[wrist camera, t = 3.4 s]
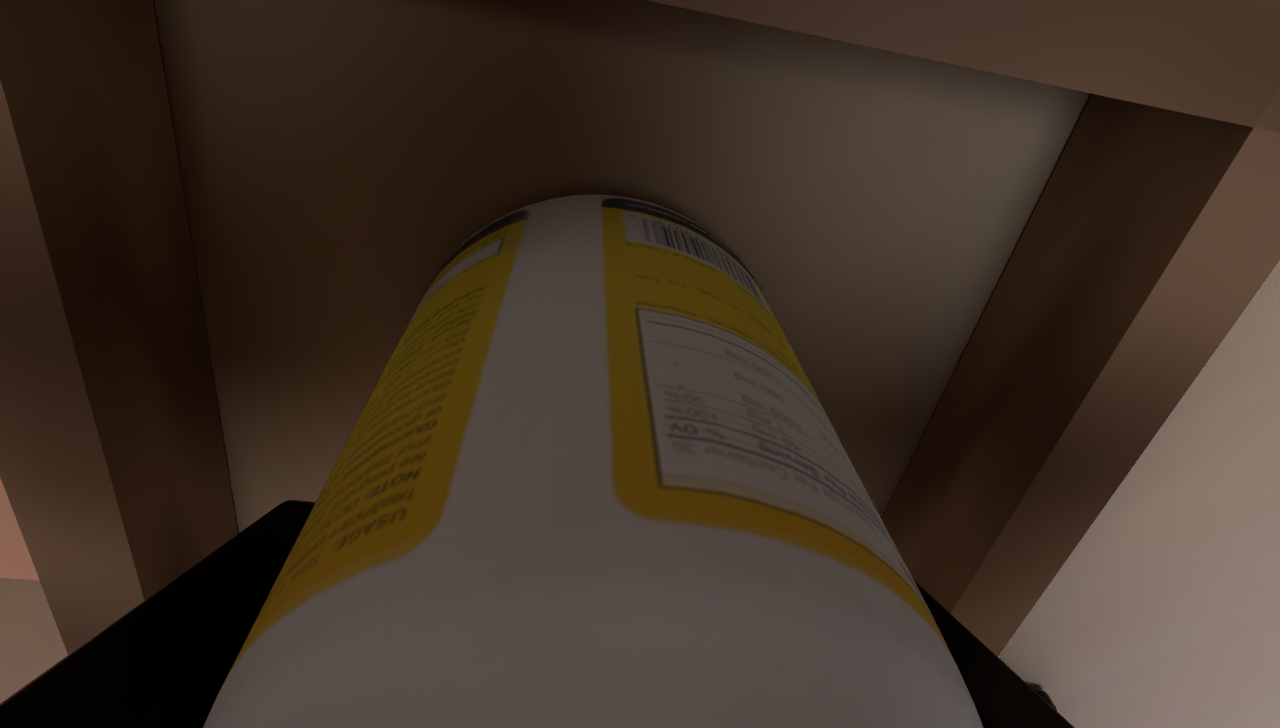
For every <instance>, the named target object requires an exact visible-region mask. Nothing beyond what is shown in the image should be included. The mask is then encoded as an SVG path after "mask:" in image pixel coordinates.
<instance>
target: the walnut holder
mask: <svg viewBox="0 0 1280 728" xmlns="http://www.w3.org/2000/svg"><path fill="white" fill-rule="evenodd" d="M647 1H652V2H657V3H662V4H666V5H671V6H676V7H681V8H685V9H690V10H695V11H700V12H705V13H709V14H714V15H719V16H724V17H728V18H733V19H738V20H743V21H748V22H752V23H757V24H762V25H767V26H771V27H776V28H781V29H786V30H790V31H795V32H800V33H805V34H810V35H814V36H819V37H824V38H829V39H833V40H838V41H843V42H848V43H853V44H857V45H862V46H867V47H872V48H876V49H881V50H886V51H891V52H895V53H900V54H905V55H910V56H915V57H919V58H924V59H929V60H934V61H938V62H943V63H948V64H953V65H958V66H962V67H967V68H972V69H977V70H981V71H986V72H991V73H996V74H1000V75H1005V76H1010V77H1015V78H1020V79H1024V80H1029V81H1034V82H1039V83H1043V84H1048V85H1053V86H1058V87H1063V88H1067V89H1072V90H1077V91H1082V92H1086V93H1091V94H1092V95H1091V97H1090V99H1089V101H1088V103H1087V105H1086V107H1085V109H1084V111H1083V113H1082V115H1081V117H1080V119H1079V121H1078V123H1077V125H1076V127H1075V129H1074V131H1073V133H1072V135H1071V137H1070V139H1069V141H1068V143H1067V145H1066V147H1065V149H1064V151H1063V153H1062V155H1061V157H1060V159H1059V161H1058V163H1057V165H1056V167H1055V169H1054V172H1053V174H1052V176H1051V178H1050V180H1049V182H1048V184H1047V186H1046V188H1045V190H1044V192H1043V194H1042V196H1041V198H1040V200H1039V202H1038V204H1037V206H1036V208H1035V210H1034V212H1033V214H1032V216H1031V218H1030V220H1029V222H1028V224H1027V226H1026V228H1025V230H1024V232H1023V234H1022V236H1021V238H1020V240H1019V242H1018V244H1017V246H1016V248H1015V250H1014V252H1013V254H1012V256H1011V259H1010V261H1009V263H1008V265H1007V267H1006V269H1005V271H1004V273H1003V275H1002V277H1001V279H1000V281H999V283H998V285H997V287H996V289H995V291H994V293H993V295H992V297H991V299H990V301H989V303H988V305H987V307H986V309H985V311H984V313H983V315H982V317H981V319H980V321H979V323H978V325H977V327H976V329H975V331H974V333H973V335H972V337H971V339H970V341H969V343H968V346H967V348H966V350H965V352H964V354H963V356H962V358H961V360H960V362H959V364H958V366H957V368H956V370H955V372H954V374H953V376H952V378H951V380H950V382H949V384H948V386H947V388H946V390H945V392H944V394H943V396H942V398H941V400H940V402H939V404H938V406H937V408H936V410H935V412H934V414H933V416H932V418H931V420H930V422H929V424H928V426H927V428H926V430H925V433H924V435H923V437H922V439H921V441H920V443H919V445H918V447H917V449H916V451H915V453H914V455H913V457H912V459H911V461H910V463H909V465H908V467H907V469H906V471H905V473H904V475H903V477H902V479H901V481H900V483H899V485H898V487H897V489H896V491H895V493H894V495H893V497H892V499H891V501H890V503H889V505H888V507H887V509H886V511H885V513H884V515H883V517H882V521H883V523H884V525H885V527H886V529H887V531H888V533H889V535H890V537H891V539H892V541H893V542H894V544H895V546H896V548H897V550H898V552H899V553H900V555H901V557H902V559H903V561H904V563H905V565H906V566H907V568H908V570H909V572H910V574H911V576H912V578H913V579H914V580H915V581H916V582H917V583H918V584H919V585H920V586H921V587H922V588H923V589H924V590H925V591H927V592H928V593H929V594H930V595H931V596H932V597H933V598H934V599H935V600H936V601H937V602H938V603H940V604H941V605H942V606H943V607H944V608H945V609H946V610H947V611H948V612H949V613H950V614H952V615H953V616H954V617H955V618H956V619H957V620H958V621H959V622H960V623H961V624H962V625H963V626H965V627H966V628H967V629H968V630H969V631H970V632H971V633H972V634H973V635H974V636H975V637H977V638H978V639H979V640H980V641H981V642H982V643H983V644H984V645H985V646H986V647H987V648H988V649H990V650H991V651H992V652H993V653H994V654H995V655H996V656H997V657H998V655H999V654H1000V653H1001V651H1002V650H1003V648H1004V647H1005V645H1006V644H1007V643H1008V641H1009V640H1010V638H1011V637H1012V636H1013V634H1014V633H1015V631H1016V630H1017V629H1018V627H1019V626H1020V624H1021V623H1022V622H1023V620H1024V619H1025V617H1026V616H1027V615H1028V613H1029V612H1030V610H1031V609H1032V607H1033V606H1034V605H1035V603H1036V602H1037V600H1038V599H1039V598H1040V596H1041V595H1042V593H1043V592H1044V591H1045V589H1046V588H1047V586H1048V585H1049V584H1050V582H1051V581H1052V579H1053V578H1054V577H1055V575H1056V574H1057V572H1058V571H1059V570H1060V568H1061V567H1062V565H1063V564H1064V562H1065V561H1066V560H1067V558H1068V557H1069V555H1070V554H1071V553H1072V551H1073V550H1074V548H1075V547H1076V546H1077V544H1078V543H1079V541H1080V540H1081V539H1082V537H1083V536H1084V534H1085V533H1086V532H1087V530H1088V529H1089V527H1090V526H1091V524H1092V523H1093V522H1094V520H1095V519H1096V517H1097V516H1098V515H1099V513H1100V512H1101V510H1102V509H1103V508H1104V506H1105V505H1106V503H1107V502H1108V501H1109V499H1110V498H1111V496H1112V495H1113V494H1114V492H1115V491H1116V489H1117V488H1118V487H1119V485H1120V484H1121V482H1122V481H1123V479H1124V478H1125V477H1126V475H1127V474H1128V472H1129V471H1130V470H1131V468H1132V467H1133V465H1134V464H1135V463H1136V461H1137V460H1138V458H1139V457H1140V456H1141V454H1142V453H1143V451H1144V450H1145V449H1146V447H1147V446H1148V444H1149V443H1150V441H1151V440H1152V439H1153V437H1154V436H1155V434H1156V433H1157V432H1158V430H1159V429H1160V427H1161V426H1162V425H1163V423H1164V422H1165V420H1166V419H1167V418H1168V416H1169V415H1170V413H1171V412H1172V411H1173V409H1174V408H1175V406H1176V405H1177V404H1178V402H1179V401H1180V399H1181V398H1182V396H1183V395H1184V394H1185V392H1186V391H1187V389H1188V388H1189V387H1190V385H1191V384H1192V382H1193V381H1194V380H1195V378H1196V377H1197V375H1198V374H1199V373H1200V371H1201V370H1202V368H1203V367H1204V366H1205V364H1206V363H1207V361H1208V360H1209V359H1210V357H1211V356H1212V354H1213V353H1214V351H1215V350H1216V349H1217V347H1218V346H1219V344H1220V343H1221V342H1222V340H1223V339H1224V337H1225V336H1226V335H1227V333H1228V332H1229V330H1230V329H1231V328H1232V326H1233V325H1234V323H1235V322H1236V321H1237V319H1238V318H1239V316H1240V315H1241V313H1242V312H1243V311H1244V309H1245V308H1246V306H1247V305H1248V304H1249V302H1250V301H1251V299H1252V298H1253V297H1254V295H1255V294H1256V292H1257V291H1258V290H1259V288H1260V287H1261V285H1262V284H1263V283H1264V281H1265V280H1266V278H1267V277H1268V276H1269V274H1270V273H1271V271H1272V270H1273V268H1274V267H1275V266H1276V264H1277V263H1278V261H1279V260H1280V0H647ZM0 478H1V481H2V483H3V486H4V488H5V491H6V494H7V496H8V499H9V502H10V504H11V507H12V509H13V512H14V515H15V517H16V520H17V522H18V525H19V528H20V530H21V533H22V535H23V538H24V541H25V543H26V546H27V548H28V551H29V554H30V556H31V559H32V562H33V564H34V567H35V569H36V572H37V575H38V577H39V580H40V582H41V585H42V588H43V590H44V593H45V595H46V598H47V601H48V603H49V606H50V609H51V611H52V614H53V616H54V619H55V622H56V624H57V627H58V629H59V632H60V635H61V637H62V640H63V642H64V645H65V648H66V650H67V653H68V655H69V654H71V653H72V652H74V651H75V650H76V649H78V648H79V647H81V646H82V645H83V644H85V643H86V642H88V641H89V640H90V639H92V638H93V637H95V636H96V635H97V634H99V633H100V632H102V631H103V630H104V629H106V628H107V627H109V626H110V625H111V624H113V623H114V622H116V621H117V620H118V619H120V618H121V617H123V616H124V615H125V614H127V613H128V612H130V611H131V610H132V609H134V608H135V607H137V606H138V605H139V604H141V603H142V602H144V601H145V600H146V599H148V598H149V597H151V596H152V595H153V594H155V593H156V592H158V591H159V590H160V589H162V588H163V587H165V586H166V585H167V584H169V583H170V582H172V581H173V580H174V579H176V578H177V577H179V576H180V575H181V574H183V573H184V572H186V571H187V570H188V569H190V568H191V567H193V566H194V565H195V564H197V563H198V562H200V561H201V560H202V559H204V558H205V557H207V556H208V555H209V554H211V553H212V552H214V551H215V550H216V549H218V548H219V547H221V546H222V545H223V544H225V543H226V542H228V541H229V540H230V539H232V538H233V537H235V536H236V535H238V530H237V524H236V518H235V511H234V505H233V499H232V493H231V486H230V480H229V474H228V468H227V462H226V455H225V449H224V443H223V437H222V430H221V424H220V418H219V412H218V405H217V399H216V393H215V387H214V381H213V374H212V368H211V362H210V356H209V349H208V343H207V337H206V331H205V325H204V318H203V312H202V306H201V300H200V293H199V287H198V281H197V275H196V269H195V262H194V256H193V250H192V244H191V237H190V231H189V225H188V219H187V212H186V206H185V200H184V194H183V188H182V181H181V175H180V169H179V163H178V156H177V150H176V144H175V138H174V132H173V125H172V119H171V113H170V107H169V100H168V94H167V88H166V82H165V76H164V69H163V63H162V57H161V51H160V44H159V38H158V32H157V26H156V19H155V13H154V7H153V1H152V0H0Z"/></svg>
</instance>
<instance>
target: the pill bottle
mask: <svg viewBox="0 0 1280 728" xmlns="http://www.w3.org/2000/svg"><path fill="white" fill-rule="evenodd" d="M203 728H983V726H982V723H981V720H980V717H979V715H978V712H977V710H976V707H975V705H974V702H973V700H972V698H971V696H970V693H969V691H968V689H967V687H966V685H965V682H964V680H963V678H962V676H961V674H960V671H959V669H958V667H957V665H956V663H955V661H954V659H953V657H952V655H951V653H950V651H949V649H948V647H947V645H946V642H945V640H944V638H943V636H942V634H941V632H940V630H939V628H938V626H937V624H936V622H935V620H934V618H933V616H932V614H931V612H930V610H929V608H928V606H927V604H926V602H925V601H924V599H923V597H922V595H921V593H920V591H919V589H918V587H917V585H916V583H915V581H914V579H913V578H912V576H911V574H910V572H909V570H908V568H907V566H906V565H905V563H904V561H903V559H902V557H901V555H900V553H899V552H898V550H897V548H896V546H895V544H894V542H893V541H892V539H891V537H890V535H889V533H888V531H887V529H886V527H885V525H884V523H883V521H882V520H881V518H880V516H879V514H878V512H877V510H876V508H875V506H874V504H873V503H872V501H871V499H870V497H869V495H868V493H867V491H866V489H865V487H864V485H863V484H862V482H861V480H860V478H859V476H858V474H857V472H856V470H855V468H854V467H853V465H852V463H851V461H850V459H849V457H848V455H847V453H846V451H845V450H844V448H843V446H842V444H841V442H840V440H839V438H838V436H837V434H836V432H835V430H834V428H833V426H832V424H831V422H830V420H829V418H828V416H827V415H826V413H825V411H824V409H823V407H822V405H821V403H820V401H819V399H818V397H817V395H816V393H815V391H814V389H813V387H812V385H811V384H810V382H809V380H808V378H807V376H806V374H805V372H804V370H803V368H802V366H801V365H800V363H799V361H798V359H797V357H796V355H795V353H794V351H793V349H792V347H791V346H790V344H789V342H788V340H787V338H786V336H785V334H784V332H783V330H782V328H781V326H780V324H779V322H778V320H777V318H776V316H775V314H774V312H773V310H772V308H771V307H770V305H769V303H768V301H767V299H766V297H765V296H764V294H763V292H762V290H761V288H760V286H759V285H758V283H757V282H756V280H755V279H754V277H753V276H752V274H751V273H750V271H749V270H748V268H747V267H746V266H745V265H744V263H743V262H742V261H741V260H740V258H739V257H738V256H737V255H736V254H735V253H734V252H733V251H732V250H731V249H730V248H729V247H728V246H727V245H726V244H725V243H724V242H722V241H721V240H720V239H719V238H718V237H716V236H715V235H714V234H712V233H711V232H709V231H708V230H707V229H705V228H704V227H702V226H701V225H699V224H698V223H696V222H694V221H692V220H691V219H689V218H687V217H685V216H683V215H681V214H679V213H677V212H675V211H672V210H670V209H667V208H665V207H662V206H659V205H657V204H654V203H651V202H647V201H643V200H639V199H634V198H628V197H622V196H613V195H574V196H567V197H559V198H553V199H549V200H546V201H542V202H538V203H534V204H531V205H527V206H525V207H522V208H520V209H517V210H515V211H512V212H510V213H508V214H506V215H504V216H502V217H500V218H498V219H497V220H495V221H493V222H492V223H490V224H488V225H487V226H485V227H484V228H482V229H481V230H479V231H478V232H476V233H475V234H474V235H472V236H471V237H470V238H469V239H468V240H467V241H465V242H464V243H463V244H462V245H461V246H460V247H459V248H458V249H457V250H456V251H455V252H454V253H453V254H452V255H451V256H450V257H449V258H448V259H447V261H446V262H445V263H444V264H443V266H442V267H441V268H440V270H439V271H438V272H437V274H436V275H435V277H434V279H433V280H432V281H431V283H430V284H429V286H428V288H427V289H426V291H425V293H424V295H423V297H422V299H421V301H420V303H419V305H418V307H417V309H416V311H415V313H414V315H413V317H412V319H411V320H410V322H409V324H408V326H407V328H406V330H405V332H404V334H403V335H402V337H401V339H400V341H399V343H398V345H397V347H396V349H395V350H394V352H393V354H392V356H391V358H390V360H389V362H388V364H387V366H386V368H385V370H384V371H383V373H382V375H381V377H380V379H379V381H378V383H377V385H376V387H375V389H374V391H373V392H372V394H371V396H370V398H369V400H368V402H367V404H366V406H365V408H364V410H363V412H362V413H361V415H360V417H359V419H358V421H357V423H356V425H355V427H354V429H353V431H352V433H351V435H350V437H349V439H348V441H347V443H346V445H345V446H344V448H343V450H342V452H341V454H340V456H339V458H338V460H337V462H336V464H335V466H334V468H333V470H332V472H331V474H330V476H329V478H328V480H327V482H326V484H325V486H324V488H323V490H322V491H321V493H320V495H319V497H318V499H317V501H316V503H315V505H314V507H313V509H312V511H311V513H310V515H309V517H308V519H307V521H306V523H305V525H304V527H303V529H302V531H301V533H300V535H299V536H298V538H297V540H296V542H295V544H294V546H293V548H292V550H291V552H290V554H289V556H288V558H287V560H286V562H285V564H284V566H283V568H282V570H281V572H280V574H279V576H278V578H277V580H276V582H275V584H274V586H273V588H272V590H271V592H270V593H269V595H268V597H267V599H266V601H265V603H264V605H263V607H262V609H261V611H260V613H259V615H258V617H257V619H256V621H255V623H254V625H253V627H252V629H251V631H250V633H249V635H248V637H247V639H246V641H245V643H244V645H243V647H242V649H241V651H240V653H239V655H238V656H237V658H236V660H235V662H234V664H233V666H232V668H231V670H230V672H229V674H228V676H227V678H226V680H225V682H224V684H223V685H222V687H221V689H220V691H219V693H218V695H217V698H216V700H215V702H214V704H213V706H212V709H211V711H210V713H209V715H208V717H207V720H206V722H205V724H204V726H203Z"/></svg>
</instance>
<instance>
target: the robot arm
mask: <svg viewBox="0 0 1280 728" xmlns="http://www.w3.org/2000/svg"><path fill="white" fill-rule="evenodd" d="M315 503H316V502H307V501H297V500H288V501H285V502H283V503H281V504H280V505H278V506H277V507H275V508H274V509H273V510H271V511H270V512H268V513H267V514H266V515H264V516H263V517H261V518H260V519H259V520H257V521H256V522H254V523H253V524H252V525H250V526H249V527H247V528H246V529H245V530H243V531H242V532H240V533H239V534H238V535H236V536H235V537H233V538H232V539H230V540H229V541H228V542H226V543H225V544H223V545H222V546H221V547H219V548H218V549H216V550H215V551H214V552H212V553H211V554H209V555H208V556H207V557H205V558H204V559H202V560H201V561H200V562H198V563H197V564H195V565H194V566H193V567H191V568H190V569H188V570H187V571H186V572H184V573H183V574H181V575H180V576H179V577H177V578H176V579H174V580H173V581H172V582H170V583H169V584H167V585H166V586H165V587H163V588H162V589H160V590H159V591H158V592H156V593H155V594H153V595H152V596H151V597H149V598H148V599H146V600H145V601H144V602H142V603H141V604H139V605H138V606H137V607H135V608H134V609H132V610H131V611H130V612H128V613H127V614H125V615H124V616H123V617H121V618H120V619H118V620H117V621H116V622H114V623H113V624H111V625H110V626H109V627H107V628H106V629H104V630H103V631H102V632H100V633H99V634H97V635H96V636H95V637H93V638H92V639H90V640H89V641H88V642H86V643H85V644H83V645H82V646H81V647H79V648H78V649H76V650H75V651H74V652H72V653H71V654H69V655H68V656H67V657H65V658H64V659H62V660H61V661H60V662H58V663H57V664H55V665H54V666H52V667H51V668H50V669H48V670H47V671H45V672H44V673H43V674H41V675H40V676H38V677H37V678H36V679H34V680H33V681H31V682H30V683H29V684H27V685H26V686H24V687H23V688H22V689H20V690H19V691H17V692H16V693H15V694H13V695H12V696H10V697H9V698H8V699H6V700H5V701H3V702H2V703H1V704H0V728H203V726H204V724H205V722H206V720H207V717H208V715H209V713H210V711H211V709H212V706H213V704H214V702H215V700H216V698H217V695H218V693H219V691H220V689H221V687H222V685H223V684H224V682H225V680H226V678H227V676H228V674H229V672H230V670H231V668H232V666H233V664H234V662H235V660H236V658H237V656H238V655H239V653H240V651H241V649H242V647H243V645H244V643H245V641H246V639H247V637H248V635H249V633H250V631H251V629H252V627H253V625H254V623H255V621H256V619H257V617H258V615H259V613H260V611H261V609H262V607H263V605H264V603H265V601H266V599H267V597H268V595H269V593H270V592H271V590H272V588H273V586H274V584H275V582H276V580H277V578H278V576H279V574H280V572H281V570H282V568H283V566H284V564H285V562H286V560H287V558H288V556H289V554H290V552H291V550H292V548H293V546H294V544H295V542H296V540H297V538H298V536H299V535H300V533H301V531H302V529H303V527H304V525H305V523H306V521H307V519H308V517H309V515H310V513H311V511H312V509H313V507H314V505H315ZM914 581H915V580H914ZM915 583H916V585H917V587H918V589H919V591H920V593H921V595H922V597H923V599H924V601H925V602H926V604H927V606H928V608H929V610H930V612H931V614H932V616H933V618H934V620H935V622H936V624H937V626H938V628H939V630H940V632H941V634H942V636H943V638H944V640H945V642H946V645H947V647H948V649H949V651H950V653H951V655H952V657H953V659H954V661H955V663H956V665H957V667H958V669H959V671H960V674H961V676H962V678H963V680H964V682H965V685H966V687H967V689H968V691H969V693H970V696H971V698H972V700H973V702H974V705H975V707H976V710H977V712H978V715H979V717H980V720H981V723H982V726H983V728H1074V727H1073V726H1072V725H1071V724H1070V723H1069V722H1068V721H1067V720H1066V719H1065V718H1063V717H1062V716H1061V715H1060V714H1059V713H1058V712H1057V710H1056V707H1055V705H1054V704H1053V702H1052V700H1051V699H1050V697H1049V695H1048V694H1047V693H1046V692H1043V691H1039V690H1033V689H1032V688H1031V687H1030V686H1029V685H1028V684H1026V683H1025V682H1024V681H1023V680H1022V679H1021V678H1020V677H1019V676H1018V675H1017V674H1016V673H1015V672H1013V671H1012V670H1011V669H1010V668H1009V667H1008V666H1007V665H1006V664H1005V663H1004V662H1003V661H1002V660H1000V659H999V658H998V657H997V656H996V655H995V654H994V653H993V652H992V651H991V650H990V649H988V648H987V647H986V646H985V645H984V644H983V643H982V642H981V641H980V640H979V639H978V638H977V637H975V636H974V635H973V634H972V633H971V632H970V631H969V630H968V629H967V628H966V627H965V626H963V625H962V624H961V623H960V622H959V621H958V620H957V619H956V618H955V617H954V616H953V615H952V614H950V613H949V612H948V611H947V610H946V609H945V608H944V607H943V606H942V605H941V604H940V603H938V602H937V601H936V600H935V599H934V598H933V597H932V596H931V595H930V594H929V593H928V592H927V591H925V590H924V589H923V588H922V587H921V586H920V585H919V584H918V583H917V582H916V581H915Z"/></svg>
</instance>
